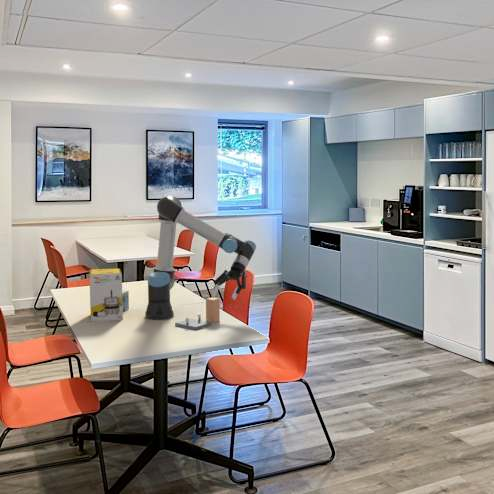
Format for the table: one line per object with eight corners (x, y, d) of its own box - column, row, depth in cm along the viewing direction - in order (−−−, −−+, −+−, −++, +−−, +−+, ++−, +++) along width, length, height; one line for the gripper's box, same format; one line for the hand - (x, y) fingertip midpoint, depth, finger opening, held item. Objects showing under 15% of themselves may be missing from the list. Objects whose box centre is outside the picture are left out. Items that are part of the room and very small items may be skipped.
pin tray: (175, 325, 307) (175, 316, 306) (191, 321, 316) (190, 311, 316) (196, 330, 299) (196, 320, 298) (211, 325, 308) (211, 315, 308)
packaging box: (91, 321, 316) (89, 274, 313) (90, 314, 331) (89, 269, 328) (122, 319, 320) (121, 273, 317) (120, 312, 336) (119, 268, 333)
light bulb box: (121, 312, 335) (121, 293, 334) (110, 312, 337) (110, 293, 336) (129, 308, 346) (128, 290, 345) (118, 308, 347) (117, 289, 346)
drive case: (206, 321, 316) (205, 298, 315) (212, 319, 320) (212, 297, 319) (213, 322, 313) (213, 300, 312) (219, 320, 317) (219, 298, 316)
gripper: (261, 271, 326) (244, 303, 316) (224, 267, 341) (208, 298, 330) (255, 263, 321) (238, 295, 311) (218, 259, 336) (201, 290, 325)
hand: (222, 296), depth 321 cm, fingers open, 13 cm apart
